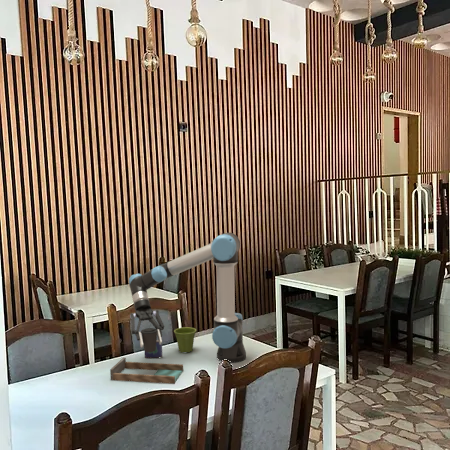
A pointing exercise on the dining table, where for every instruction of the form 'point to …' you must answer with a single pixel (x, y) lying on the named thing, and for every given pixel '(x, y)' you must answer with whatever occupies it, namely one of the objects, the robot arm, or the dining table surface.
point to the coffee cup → (149, 339)
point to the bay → (162, 375)
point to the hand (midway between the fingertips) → (151, 344)
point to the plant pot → (185, 338)
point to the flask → (155, 352)
